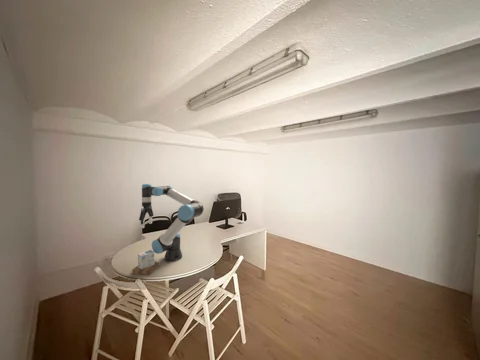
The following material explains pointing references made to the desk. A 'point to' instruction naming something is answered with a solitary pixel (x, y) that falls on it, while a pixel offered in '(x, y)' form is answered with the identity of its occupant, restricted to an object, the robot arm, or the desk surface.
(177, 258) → the robot arm
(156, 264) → the block
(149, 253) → the light bulb box
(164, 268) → the desk surface
